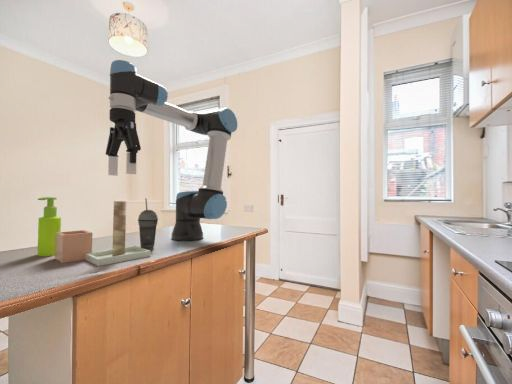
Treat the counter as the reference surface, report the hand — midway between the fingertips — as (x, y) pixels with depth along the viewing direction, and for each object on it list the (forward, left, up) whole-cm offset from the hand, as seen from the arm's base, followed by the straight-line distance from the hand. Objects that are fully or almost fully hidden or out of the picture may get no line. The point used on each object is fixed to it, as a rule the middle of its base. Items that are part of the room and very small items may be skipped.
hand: (121, 174), depth 83 cm
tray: (0, 0, -28) cm, 28 cm away
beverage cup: (-14, -8, -28) cm, 32 cm away
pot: (+10, -9, -28) cm, 31 cm away
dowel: (0, 0, -27) cm, 27 cm away
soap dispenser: (+14, -21, -28) cm, 38 cm away
